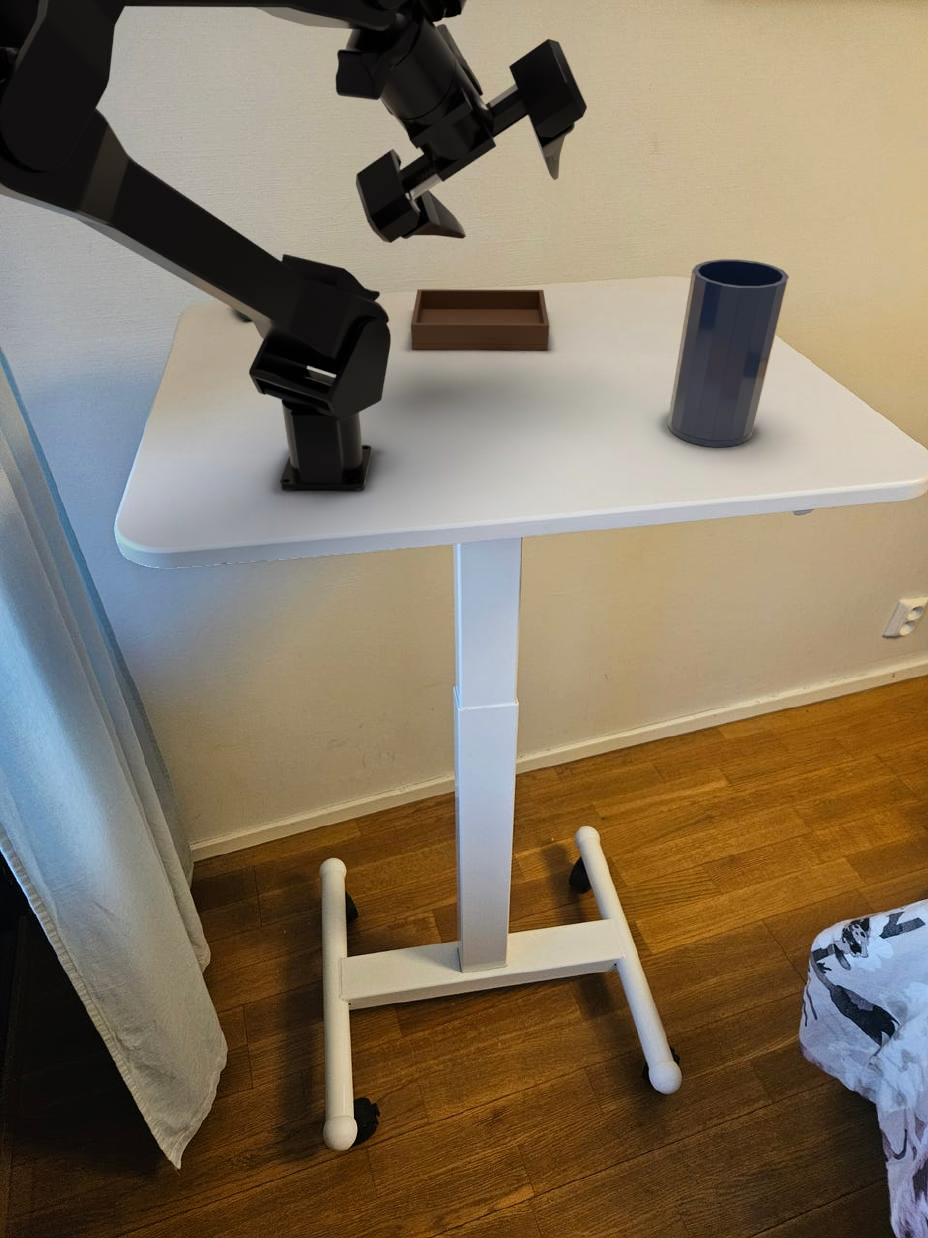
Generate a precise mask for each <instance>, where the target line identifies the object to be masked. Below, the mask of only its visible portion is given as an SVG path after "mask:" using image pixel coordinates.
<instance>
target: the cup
mask: <svg viewBox="0 0 928 1238" xmlns="http://www.w3.org/2000/svg"><path fill="white" fill-rule="evenodd" d="M789 278H790V277H789V275H788V273H787V272H786V271H785V270H784V269H781V268H779V267H777V266H775V265H772V264H769V263H765V262H761V261H756V260H747V259H738V258H737V259H734V258H733V259H728V258H727V259H726V258H723V259H713V260H706V261H704V262H701V263H697V264H695V266H694V267H693V269H692V270H691V276H690V282H689V288H688V294H687V300H686V305H685V306H686V307H685V312H684V319H683V325H682V331H681V336H680V337H681V338H680V344H679V350H678V356H677V362H676V363H677V364H676V369H675V375H674V380H673V387H672V388H673V389H672V393H671V398H670V399H671V400H670V405H669V412H668V423H667V425H668V429H669V431H670V432H671V433H672V434H673V435H674V436H675V437H677V438H679V439H681V440H683V441H685V442H688V443H690V444H694V445H697V446H703V447H709V448H710V447H711V448H727V447H735V446H738V445H742V444H744V443H746V442H747V441H748V440H749V439H751V437H752V435H753V431H754V428H755V424H756V420H757V416H758V412H759V408H760V405H761V398H762V395H763V390H764V387H765V381H766V377H767V373H768V368H769V364H770V360H771V356H772V353H773V352H772V351H773V348H774V343H775V338H776V334H777V329H778V326H779V322H780V317H781V313H782V308H783V304H784V299H785V296H786V292H787V286H788V283H789Z"/></svg>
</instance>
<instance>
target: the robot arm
mask: <svg viewBox="0 0 928 1238" xmlns="http://www.w3.org/2000/svg"><path fill="white" fill-rule="evenodd" d="M467 1H468V0H0V195H2V196H5V197H8V198H11V199H14V200H17V201H20V202H23V203H26V204H30V205H33V206H35V207H38V208H42V209H44V210H47V211H51V212H54V213H57V214H60V215H63V216H66V217H70V218H72V219H74V220H77V221H79V222H80V223H82V224H84V225H86V226H88V227H89V228H90V229H92V230H94V231H96V232H98V233H100V234H102V235H103V236H105V237H107V238H108V239H111V240H112V241H114V242H115V243H118V244H119V245H121V246H123V247H125V248H126V249H128V250H130V251H132V252H133V253H135V254H136V255H139V256H140V257H142V258H144V259H145V260H148V261H149V262H151V263H153V264H154V265H157V266H158V267H160V268H162V269H163V270H166V271H167V272H168V273H171V274H172V275H174V276H176V277H177V278H179V279H181V280H182V281H184V282H186V283H188V284H190V285H191V286H193V287H195V288H197V289H198V290H201V291H202V292H204V293H206V294H207V295H209V296H211V297H213V298H215V299H217V300H218V301H220V302H221V303H223V304H225V305H227V306H229V307H230V308H232V309H234V310H235V311H237V310H238V311H239V312H241V313H243V314H245V315H246V316H248V317H249V318H250V320H251V321H252V322H253V324H254V326H255V328H256V330H257V332H258V334H259V336H260V337H261V338H262V339H263V340H262V342H261V344H260V346H259V348H258V351H257V352H256V354H255V357H254V359H253V361H252V363H251V366H250V368H249V370H248V375H249V377H250V379H251V381H252V383H253V385H254V387H255V389H256V390H257V392H258V393H259V394H261V395H264V396H265V395H267V396H270V397H273V398H276V399H278V400H281V406H282V407H281V408H282V414H283V420H284V421H283V422H284V429H285V433H286V441H287V448H288V455H289V456H288V458H287V462H286V464H285V467H284V470H283V473H282V475H281V477H280V480H279V484H280V488H282V489H285V490H363V489H364V488H365V487H366V484H367V478H368V473H369V469H370V464H371V460H372V455H373V446H371V445H370V444H363V439H362V428H361V417H360V413H361V412H362V411H364V410H366V409H368V408H370V407H372V406H373V405H376V404H378V403H380V402H381V400H382V398H383V392H384V386H385V380H386V374H387V369H388V368H387V367H388V363H389V358H390V357H389V356H390V350H391V345H392V338H391V336H392V335H391V331H390V327H389V326H388V323H389V321H390V318H389V315H388V313H387V311H386V309H385V308H384V307H383V306H382V305H381V303H380V302H378V301H376V300H377V299H379V298H380V296H381V292H380V291H378V290H374V289H370V288H366V287H364V285H363V284H361V282H359V280H358V279H357V277H355V275H354V274H352V273H351V272H350V271H348V269H346V268H344V267H341V266H337V265H332V264H329V263H323V262H320V261H315V260H311V259H307V258H303V257H299V256H295V255H291V254H287V253H283V254H282V258H281V259H279V258H277V257H276V256H274V255H272V253H269V252H268V251H267V250H266V249H264V248H262V247H261V246H259V245H258V244H256V243H255V242H254V241H252V240H250V239H249V238H248V237H246V236H245V235H244V234H242V233H240V232H239V231H237V230H236V229H235V228H233V227H232V226H231V225H228V224H227V223H225V222H224V221H223V220H222V219H220V218H218V217H217V216H215V215H214V214H212V213H211V212H210V211H208V210H207V209H206V208H204V207H203V206H200V204H198V203H196V202H194V201H193V200H192V199H190V198H188V197H187V196H186V195H185V194H183V193H182V192H180V191H179V190H178V189H176V188H174V187H173V186H171V185H170V184H168V183H167V182H165V181H164V180H163V179H161V178H160V177H158V176H157V175H155V174H154V173H152V172H151V171H150V170H148V169H147V168H145V167H144V166H142V165H141V164H139V163H138V162H137V161H135V159H133V157H131V155H129V154H128V152H127V151H126V149H125V147H124V146H123V144H122V142H121V141H120V138H119V137H118V136H117V134H116V132H115V130H114V129H113V127H112V126H111V124H110V122H109V121H108V119H107V118H106V117H105V115H104V114H103V113H101V111H100V110H99V109H98V108H97V107H98V104H99V103H100V101H101V99H102V97H103V95H104V93H105V91H106V89H107V87H108V84H109V82H110V75H111V66H112V59H113V58H112V56H113V48H114V40H115V39H114V38H115V30H116V29H115V28H116V25H117V23H118V21H119V19H120V17H121V15H122V13H123V11H124V9H125V7H132V8H133V7H136V8H137V7H140V8H142V7H144V8H145V7H148V8H149V7H150V8H154V7H155V8H156V7H157V8H159V7H160V8H162V7H164V8H172V7H173V8H253V9H257V10H261V11H262V12H264V13H267V14H268V15H270V16H272V17H275V18H278V19H282V20H285V21H288V22H292V23H296V24H300V25H303V26H307V27H314V28H332V29H344V30H345V29H346V30H351V32H350V34H349V37H348V40H347V41H346V45H345V48H344V49H343V48H340V49H338V50H337V53H336V56H337V64H338V65H337V70H336V73H335V93H336V94H337V95H338V96H339V97H347V98H356V99H361V100H362V99H363V100H370V101H371V100H372V101H378V100H380V101H381V103H382V104H383V106H384V107H385V108H386V110H387V112H388V113H389V114H390V115H391V116H393V117H394V118H395V119H396V121H397V123H399V125H401V127H403V129H404V130H405V132H406V134H407V136H408V139H409V141H410V143H411V144H412V145H413V147H414V148H415V149H416V150H420V151H421V153H423V154H422V155H420V156H419V157H418V158H416V159H414V160H413V161H412V162H410V163H408V164H407V165H405V166H404V167H403V168H401V166H402V159H401V156H400V155H399V154H398V152H397V151H396V150H395V149H394V148H392V149H390V150H389V151H387V152H386V153H384V154H383V155H382V156H380V157H379V158H377V159H376V160H374V161H373V162H371V163H370V164H368V165H367V166H366V167H364V168H363V169H361V170H360V171H358V172H357V173H356V176H355V186H356V190H357V193H358V195H359V196H358V197H359V198H360V199H359V200H360V202H361V206H362V208H363V212H364V215H365V218H366V221H367V223H368V225H369V227H370V228H371V230H372V231H373V233H374V234H376V235H377V236H378V237H379V239H381V240H382V242H385V243H389V244H392V243H393V242H395V241H396V240H397V239H400V238H402V240H408V239H410V238H411V237H413V236H436V237H437V236H438V237H445V238H452V239H461V240H463V239H465V238H466V237H467V235H466V232H465V229H464V227H463V225H462V224H461V223H460V221H459V219H458V218H457V217H456V216H455V215H454V214H453V213H452V212H451V211H450V210H449V209H448V208H447V207H446V206H445V205H444V204H443V203H442V202H441V201H440V200H439V199H438V198H437V196H435V195H434V194H433V193H432V192H431V191H430V189H432V188H433V187H435V186H437V185H438V184H440V183H441V182H445V181H447V180H448V179H450V178H452V177H453V176H454V175H456V174H457V173H459V172H461V170H464V169H465V168H466V167H467V166H469V165H471V164H472V163H474V162H475V161H476V160H478V159H480V158H481V157H482V156H484V155H485V154H487V153H488V152H490V151H492V150H493V149H495V148H496V147H497V143H496V141H495V139H494V138H496V137H498V136H499V135H500V134H502V133H504V132H505V131H506V130H508V129H509V128H511V127H512V126H514V125H515V124H517V123H518V122H520V121H522V119H524V118H526V117H527V116H528V119H529V122H530V125H531V128H532V131H533V133H534V137H535V139H536V142H537V144H538V147H539V150H540V153H541V155H542V158H543V161H544V163H545V166H546V169H547V171H548V174H549V176H550V177H551V178H552V179H553V181H556V180H558V179H559V172H560V171H559V170H560V160H561V152H562V149H563V147H564V146H563V145H564V142H565V138H566V137H567V136H568V135H569V134H571V133H572V132H573V131H574V130H575V129H574V128H575V127H576V126H575V125H576V122H578V121H579V120H580V119H582V118H584V115H585V113H586V111H587V109H588V105H587V104H586V101H585V99H584V96H583V94H582V91H581V90H580V87H579V84H578V82H577V80H576V77H575V75H574V73H573V71H572V68H571V66H570V64H569V61H568V59H567V57H566V55H565V52H564V50H563V48H562V46H561V43H560V42H559V41H557V40H553V39H551V38H547V39H545V40H544V41H543V42H541V43H540V44H539V45H537V46H536V47H534V48H533V49H531V50H530V51H529V52H527V53H525V55H523V56H522V57H520V58H519V59H517V60H516V61H514V62H513V63H512V64H510V65H509V66H508V68H509V70H510V74H511V75H512V78H513V81H514V84H513V85H511V86H510V87H509V88H507V89H506V90H504V91H503V92H501V93H500V94H499V95H497V96H495V97H494V98H493V99H491V100H490V101H488V102H487V103H485V102H484V101H483V99H482V96H484V91H483V89H482V86H481V83H480V82H479V80H478V78H477V77H476V76H475V73H474V72H473V70H472V69H471V66H469V64H468V62H467V60H466V58H464V55H463V54H462V52H461V50H460V49H459V47H458V44H457V43H456V41H455V39H454V38H453V36H452V34H451V32H450V30H449V28H448V27H447V25H446V24H445V23H441V24H438V25H437V26H436V25H435V23H439V22H440V21H443V19H451V18H455V17H457V16H461V15H462V13H463V11H464V8H465V6H466V3H467ZM280 260H282V262H281V261H280ZM238 311H237V312H238ZM239 312H238V313H239ZM308 367H309V368H313V369H316V370H319V372H318V371H315V370H312V369H309V368H308ZM320 371H322V372H326V373H328V374H332V375H334V376H331V375H328V374H325V373H322V372H320Z"/></svg>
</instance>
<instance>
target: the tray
mask: <svg viewBox="0 0 928 1238" xmlns="http://www.w3.org/2000/svg"><path fill="white" fill-rule="evenodd" d="M413 306H414V307H413V311H412V317H411V323H410V335H411V336H410V337H411V338H410V339H411V350H446V351H447V350H450V351H451V350H452V351H453V350H457V351H459V350H462V351H463V350H464V351H465V350H470V351H472V350H473V351H548V350H549V349H548V348H549V336H550V335H549V334H550V333H549V332H550V323H549V316H548V309H547V305H546V298H545V292H544V289H447V288H446V289H443V288H442V289H436V288H435V289H433V288H432V289H431V288H430V289H428V288H420V289H419V288H418V289H417V290H416V296H415V301H414V305H413Z"/></svg>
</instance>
